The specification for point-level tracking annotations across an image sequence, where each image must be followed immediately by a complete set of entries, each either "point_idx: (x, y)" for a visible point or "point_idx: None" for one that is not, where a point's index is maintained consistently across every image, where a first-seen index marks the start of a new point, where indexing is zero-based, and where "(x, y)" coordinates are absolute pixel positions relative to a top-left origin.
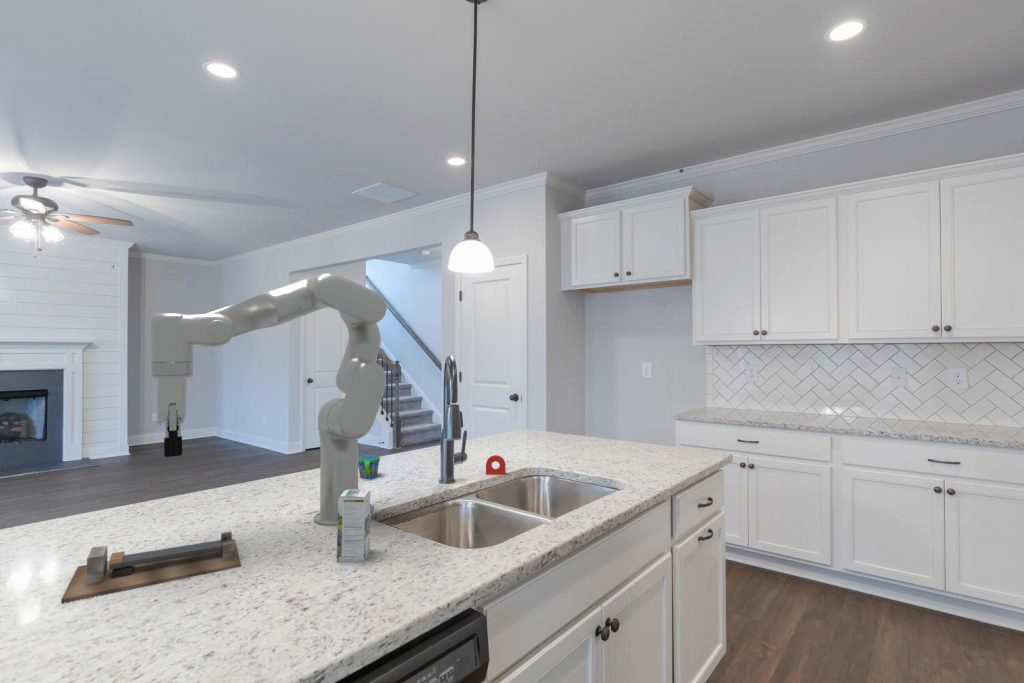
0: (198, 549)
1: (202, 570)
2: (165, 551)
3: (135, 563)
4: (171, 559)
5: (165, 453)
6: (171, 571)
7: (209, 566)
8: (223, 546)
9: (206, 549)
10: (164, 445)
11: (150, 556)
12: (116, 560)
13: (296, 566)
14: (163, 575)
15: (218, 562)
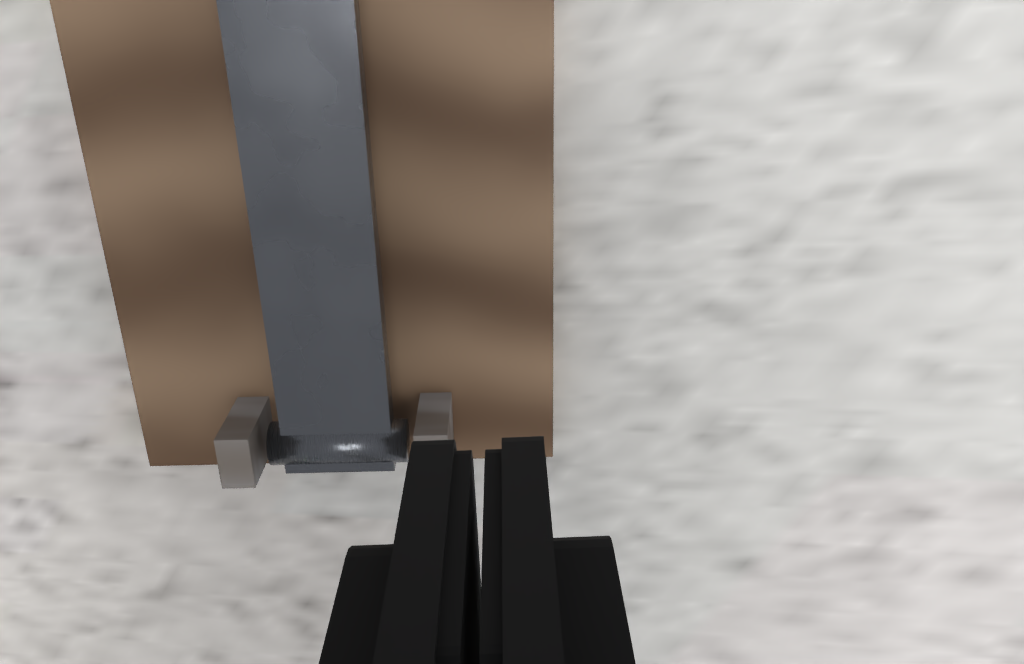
0: (270, 315)
1: (132, 309)
2: (312, 146)
3: None
4: (380, 158)
5: (411, 479)
6: (181, 167)
7: (174, 339)
8: (217, 436)
9: (268, 351)
10: (392, 562)
11: (251, 66)
12: None
13: (108, 639)
14: (135, 131)
15: (217, 377)
